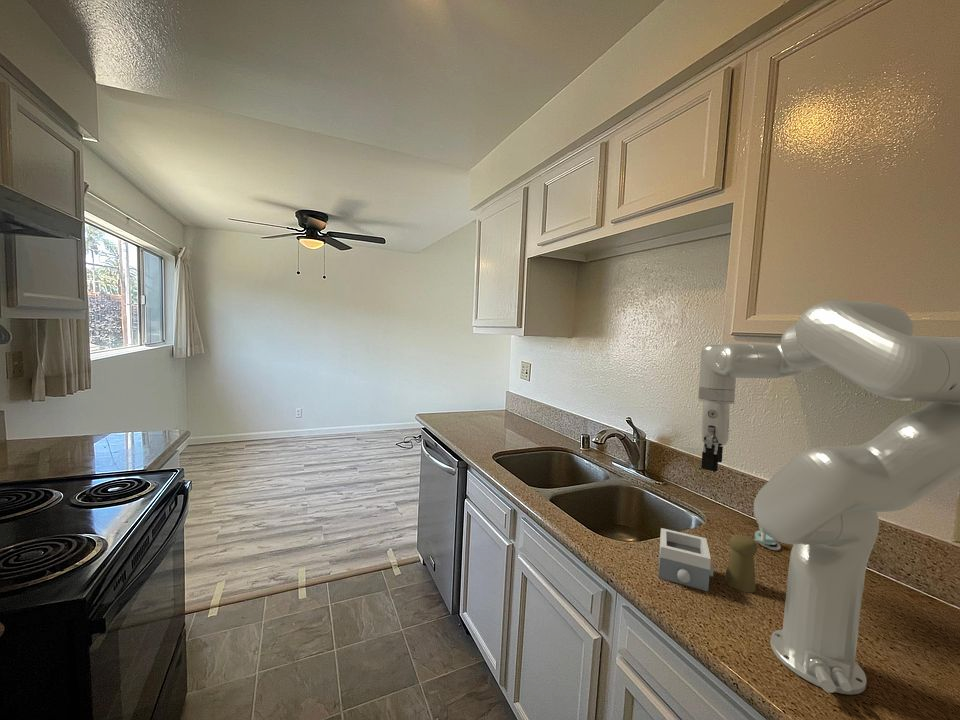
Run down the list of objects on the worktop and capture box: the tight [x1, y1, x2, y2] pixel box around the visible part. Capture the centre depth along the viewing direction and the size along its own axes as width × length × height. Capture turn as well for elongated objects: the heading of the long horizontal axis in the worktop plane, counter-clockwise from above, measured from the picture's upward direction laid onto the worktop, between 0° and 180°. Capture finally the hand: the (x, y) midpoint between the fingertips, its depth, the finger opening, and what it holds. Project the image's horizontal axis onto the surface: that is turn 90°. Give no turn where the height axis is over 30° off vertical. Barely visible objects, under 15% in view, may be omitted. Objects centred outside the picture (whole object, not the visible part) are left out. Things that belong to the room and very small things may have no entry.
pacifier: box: [753, 525, 782, 551], centre depth 107 cm, size 7×6×6 cm
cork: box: [724, 534, 758, 593], centre depth 88 cm, size 6×6×11 cm
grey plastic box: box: [658, 527, 714, 592], centre depth 91 cm, size 11×11×8 cm
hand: (711, 465), depth 94 cm, fingers open, 9 cm apart
